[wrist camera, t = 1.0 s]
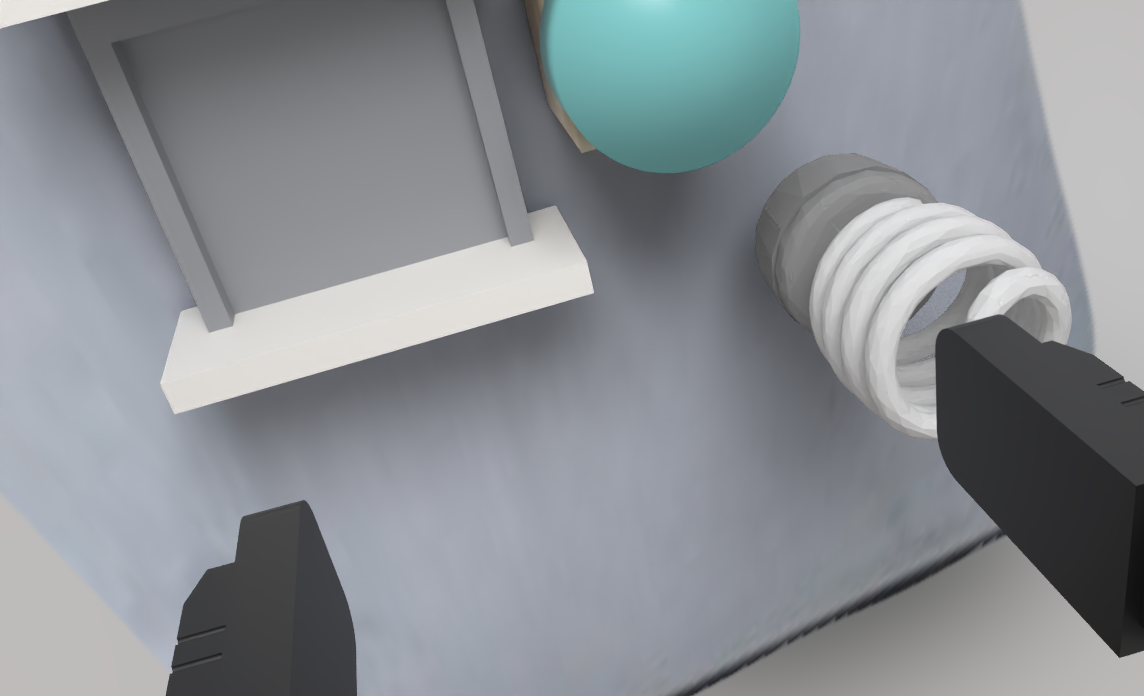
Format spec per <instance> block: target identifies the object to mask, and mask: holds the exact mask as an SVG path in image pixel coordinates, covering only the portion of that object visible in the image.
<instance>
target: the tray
mask: <svg viewBox="0 0 1144 696" xmlns="http://www.w3.org/2000/svg"><path fill="white" fill-rule="evenodd" d="M65 12H66V14H67V16H68V19H69V21H70V23H71V25H72V28H73V30H74V32H75V34H76V37H77V39H78V41H79V43H80V45H81V48H82V50H83V52H84V54H85V57H86V59H87V61H88V63H89V66H90V68H91V70H92V72H93V74H94V77H95V79H96V81H97V83H98V86H99V88H100V90H101V92H102V95H103V97H104V99H105V101H106V104H107V106H108V108H109V110H110V112H111V115H112V117H113V119H114V121H115V124H116V126H117V128H118V130H119V133H120V135H121V137H122V139H123V141H124V144H125V146H126V148H127V150H128V153H129V155H130V157H131V159H132V162H133V164H134V166H135V168H136V171H137V173H138V175H139V177H140V179H141V182H142V184H143V186H144V188H145V191H146V193H147V195H148V197H149V200H150V202H151V204H152V206H153V209H154V211H155V213H156V215H157V217H158V220H159V222H160V224H161V226H162V229H163V231H164V233H165V235H166V238H167V240H168V242H169V244H170V246H171V249H172V251H173V253H174V255H175V258H176V260H177V262H178V264H179V267H180V269H181V271H182V273H183V276H184V278H185V280H186V282H187V284H188V287H189V289H190V291H191V293H192V296H193V298H194V300H195V302H196V305H197V307H193V308H190V309H186V310H183V311H181V313H180V316H179V320H178V323H177V327H176V330H175V334H174V337H173V341H172V344H171V348H170V351H169V355H168V358H167V362H166V365H165V369H164V372H163V376H162V379H161V383H160V385H161V387H162V389H163V391H164V393H165V395H166V397H167V399H168V401H169V403H170V405H171V408H172V410H173V412H174V414H178V413H181V412H185V411H188V410H192V409H195V408H199V407H202V406H205V405H209V404H212V403H216V402H219V401H223V400H226V399H230V398H233V397H237V396H240V395H243V394H247V393H250V392H254V391H257V390H261V389H264V388H268V387H271V386H275V385H278V384H281V383H285V382H288V381H292V380H295V379H299V378H302V377H306V376H309V375H313V374H316V373H319V372H323V371H326V370H330V369H333V368H337V367H340V366H344V365H347V364H351V363H354V362H358V361H361V360H364V359H368V358H371V357H375V356H378V355H382V354H385V353H389V352H392V351H396V350H399V349H402V348H406V347H409V346H413V345H416V344H420V343H423V342H427V341H430V340H434V339H437V338H440V337H444V336H447V335H451V334H454V333H458V332H461V331H465V330H468V329H472V328H475V327H478V326H482V325H485V324H489V323H492V322H496V321H499V320H503V319H506V318H510V317H513V316H517V315H520V314H523V313H527V312H530V311H534V310H537V309H541V308H544V307H548V306H551V305H555V304H558V303H561V302H565V301H568V300H572V299H575V298H579V297H582V296H586V295H589V294H593V293H594V290H593V286H592V281H591V277H590V273H589V268H588V264H587V261H586V259H585V257H584V255H583V254H582V252H581V250H580V248H579V246H578V245H577V243H576V241H575V239H574V237H573V235H572V234H571V232H570V230H569V228H568V226H567V225H566V223H565V221H564V219H563V217H562V216H561V214H560V212H559V210H558V208H557V207H556V205H555V206H551V207H548V208H544V209H541V210H537V211H534V212H530V213H527V210H526V206H525V202H524V198H523V194H522V190H521V186H520V183H519V179H518V175H517V171H516V167H515V163H514V159H513V155H512V151H511V147H510V143H509V139H508V135H507V131H506V127H505V123H504V119H503V115H502V111H501V108H500V104H499V100H498V96H497V92H496V88H495V84H494V80H493V76H492V72H491V68H490V64H489V60H488V56H487V52H486V48H485V44H484V40H483V36H482V32H481V29H480V25H479V21H478V17H477V13H476V9H475V5H474V1H473V0H108V1H104V2H100V3H96V4H92V5H89V6H85V7H81V8H77V9H73V10H69V11H65Z"/></svg>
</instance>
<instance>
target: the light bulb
mask: <svg viewBox="0 0 1144 696" xmlns="http://www.w3.org/2000/svg"><path fill="white" fill-rule="evenodd" d="M755 253H756V257H757V261H758V264H759V268H760V271H761V273H762V274H763V276H764V278H765V279H766V281H767V283H768V285H769V286H770V288H771V290H772V291H773V293H774V294H775V296H776V298H777V299H778V301H779V303H780V304H781V305H782V306H783V307H784V309H785V310H786V311H787V312H788V313H789V314H790V316H791V317H792V318H793V319H794V320H795V321H796V322H798V323H800V324H802V325H803V326H804V327H805V328H806V329H808V330H809V331H810V332H811V333H813V334H814V337H815V340H816V343H817V345H818V346H819V348H820V350H821V352H822V354H823V355H824V357H825V358H826V359H827V361H828V362H829V363H830V365H831V367H832V369H833V371H834V372H835V374H836V376H837V377H838V378H839V380H840V381H841V382H842V383H843V384H844V386H845V387H846V388H847V389H848V390H849V391H851V392H852V393H853V394H854V395H856V396H857V397H858V398H859V399H860V400H861V401H862V403H863V404H864V405H865V406H866V407H867V408H868V409H870V410H871V411H872V412H873V413H875V414H876V415H877V416H879V417H880V418H881V419H882V420H884V421H887V423H888V424H889V425H890V426H891V427H892V428H894V429H896V430H898V431H900V432H902V433H904V434H906V435H909V436H911V437H916V438H923V439H930V440H935V439H938V438H937V420H936V366H935V356H934V357H932V358H929V359H926V360H924V361H921V362H918V361H920V360H922V359H925V358H927V357H930V356H932V355H935V344H936V338H937V335H938V333H939V332H940V331H941V330H942V329H945V328H949V327H952V326H956V325H960V324H964V323H967V322H971V321H975V320H978V319H982V318H986V317H989V316H993V315H997V314H1001V315H1004V316H1006V317H1008V318H1009V319H1011V320H1012V321H1013V322H1015V323H1016V324H1017V325H1019V326H1020V327H1021V328H1023V329H1024V330H1025V331H1027V332H1028V333H1029V334H1031V335H1032V336H1033V337H1034V338H1036V339H1037V340H1038V341H1040V342H1041V343H1044V342H1048V341H1051V340H1052V341H1055V342H1058V343H1061V344H1064V345H1066V343H1067V340H1068V337H1069V334H1070V330H1071V319H1072V316H1071V309H1070V301H1069V297H1068V295H1067V293H1066V290H1065V288H1064V286H1063V285H1062V284H1061V283H1060V282H1059V280H1058V279H1057V278H1056V277H1055V276H1054V275H1052V274H1050V273H1048V272H1046V271H1044V270H1043V269H1042V268H1041V266H1040V264H1039V262H1038V261H1037V259H1036V257H1035V256H1034V255H1033V254H1032V253H1031V252H1030V251H1029V250H1028V249H1026V248H1025V247H1023V246H1022V245H1020V244H1019V243H1017V242H1016V241H1014V240H1013V239H1012V238H1011V237H1010V236H1009V235H1008V234H1007V233H1006V232H1005V231H1004V230H1002V229H1001V228H999V227H998V226H996V225H995V224H993V223H992V222H989V221H987V220H984V219H981V218H979V217H977V216H975V215H974V214H972V213H970V212H969V211H967V210H965V209H963V208H961V207H959V206H955V205H950V204H946V203H938V202H937V200H936V199H935V198H934V197H933V196H932V195H931V194H930V192H929V191H928V189H927V188H926V187H924V186H923V185H921V184H920V183H919V182H917V181H916V180H914V179H913V178H912V177H910V176H909V175H907V174H906V173H904V172H902V171H900V170H897V169H895V168H892V167H890V166H888V165H885V164H883V163H881V162H878V161H876V160H873V159H871V158H868V157H865V156H861V155H858V154H854V153H851V154H839V155H827V156H823V157H821V158H819V159H816V160H814V161H812V162H810V163H808V164H806V165H804V166H802V167H800V168H798V169H797V170H795V171H794V172H793V173H792V174H790V175H789V176H788V177H787V178H785V179H784V180H783V181H782V182H781V183H780V185H779V186H778V187H777V188H776V189H775V191H774V192H773V194H772V195H771V196H770V198H769V199H768V201H767V202H766V204H765V206H764V208H763V210H762V213H761V216H760V219H759V221H758V224H757V227H756V244H755ZM966 269H967V272H966V278H965V281H964V283H963V285H962V288H961V290H960V292H959V294H958V296H957V298H956V299H955V300H954V302H953V303H952V304H951V305H950V307H949V308H948V309H947V310H946V311H945V313H943V314H942V315H941V316H940V317H939V318H938V319H937V320H935V321H934V322H933V323H932V324H930V325H928V326H927V327H925V328H924V329H922V330H921V331H919V332H917V333H914V334H910V335H907V336H904V337H901V335H902V333H903V331H904V328H905V326H906V324H907V321H908V320H910V319H911V318H912V317H913V316H914V315H915V314H916V313H917V312H918V311H919V310H920V309H921V308H922V307H923V305H924V304H925V303H926V302H927V301H928V300H929V299H930V297H931V295H932V294H933V292H934V291H935V289H936V287H937V286H938V285H939V284H940V283H941V282H943V281H944V280H945V279H947V278H949V277H951V276H953V275H954V274H956V273H958V272H960V271H963V270H966ZM915 362H918V363H915ZM911 363H912V364H911Z"/></svg>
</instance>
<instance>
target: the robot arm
mask: <svg viewBox="0 0 1144 696" xmlns="http://www.w3.org/2000/svg"><path fill="white" fill-rule="evenodd" d="M935 366H936V420H937V438H938V443H939V447H940V450H941V454H942V456H943V459H944V461H945V463H946V466H947V467H948V469H949V471H950V473H951V474H952V476H953V477H954V478H955V480H956V481H957V482H958V483H959V484H960V485H961V486H962V487H963V488H964V489H965V491H966V492H967V493H968V494H969V495H970V496H971V497H972V498H973V499H974V500H975V501H976V503H977V504H978V505H979V506H980V507H981V508H982V509H983V510H984V511H985V512H986V513H987V514H988V516H989V517H990V518H991V519H992V520H993V521H994V522H995V523H996V524H997V525H998V526H999V528H1000V529H1001V530H1002V531H1003V532H1004V533H1005V534H1006V535H1007V536H1008V537H1009V538H1010V539H1011V541H1012V542H1013V543H1014V544H1015V545H1016V546H1017V547H1018V548H1019V549H1020V550H1021V551H1022V552H1023V554H1024V555H1025V556H1026V557H1027V558H1028V559H1029V560H1030V561H1031V562H1032V563H1033V564H1034V565H1035V567H1037V569H1038V570H1039V571H1040V572H1041V573H1042V574H1043V575H1044V576H1045V578H1046V579H1047V580H1048V581H1049V582H1050V583H1051V584H1052V585H1053V586H1054V587H1055V588H1056V589H1057V590H1058V592H1059V593H1060V594H1061V595H1062V596H1063V597H1064V598H1065V599H1066V600H1067V601H1068V603H1069V604H1070V605H1071V606H1072V607H1073V608H1074V609H1075V610H1076V611H1077V612H1078V613H1079V614H1080V615H1081V617H1082V618H1083V619H1084V620H1085V621H1086V622H1087V623H1088V624H1089V625H1090V626H1091V628H1092V629H1093V630H1094V631H1095V632H1096V633H1097V634H1098V635H1099V636H1100V637H1101V638H1102V639H1103V641H1104V642H1105V643H1106V644H1107V645H1108V646H1109V647H1110V648H1111V649H1112V650H1113V651H1114V653H1115V654H1116V655H1117V656H1118V657H1119V658H1120V657H1124V656H1127V655H1131V654H1134V653H1137V652H1141V651H1144V391H1142V390H1141V389H1140V388H1138V387H1137V386H1136V385H1134V384H1132V383H1131V382H1130V381H1128V382H1125V381H1124V377H1123V376H1122V375H1120V374H1119V373H1118V372H1116V371H1115V370H1113V369H1112V368H1111V367H1109V366H1108V365H1106V364H1105V363H1104V362H1102V361H1101V360H1100V359H1098V358H1097V357H1095V356H1094V355H1092V354H1089V353H1086V352H1083V351H1081V350H1078V349H1075V348H1072V347H1069V346H1066V345H1064V344H1061V343H1058V342H1055V341H1052V340H1051V341H1048V342H1044V343H1041V342H1040V341H1038V340H1037V339H1036V338H1034V337H1033V336H1032V335H1031V334H1029V333H1028V332H1027V331H1025V330H1024V329H1023V328H1021V327H1020V326H1019V325H1017V324H1016V323H1015V322H1013V321H1012V320H1011V319H1009V318H1008V317H1006V316H1004V315H1001V314H997V315H993V316H989V317H986V318H982V319H978V320H975V321H971V322H967V323H964V324H960V325H956V326H952V327H949V328H945V329H942V330H941V331H940V332H939V333H938V335H937V338H936V344H935ZM177 640H178V645H176V646H175V651H174V656H173V661H172V666H171V667H172V671H173V673H172V674H170V676H169V681H168V687H167V692H166V696H357V678H356V642H355V634H354V628H353V623H352V618H351V614H350V610H349V606H348V603H347V599H346V597H345V594H344V591H343V588H342V586H341V583H340V581H339V578H338V576H337V573H336V571H335V568H334V565H333V563H332V560H331V558H330V555H329V553H328V550H327V547H326V545H325V542H324V540H323V537H322V535H321V532H320V529H319V527H318V524H317V522H316V519H315V517H314V514H313V512H312V510H311V508H310V506H309V504H308V503H307V502H306V501H305V500H302V501H299V502H295V503H291V504H287V505H284V506H280V507H276V508H273V509H269V510H265V511H262V512H258V513H254V514H250V515H247V516H244V517H243V518H242V519H241V523H240V529H239V536H238V543H237V550H236V558H235V562H234V563H230V564H227V565H223V566H219V567H216V568H212V569H208V570H207V571H206V572H205V574H204V575H203V577H202V578H201V580H200V581H199V583H198V584H197V585H196V587H195V588H194V590H193V591H192V593H191V594H190V596H189V597H188V599H187V600H186V602H185V603H184V605H183V610H182V615H181V620H180V625H179V630H178V635H177Z"/></svg>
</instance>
